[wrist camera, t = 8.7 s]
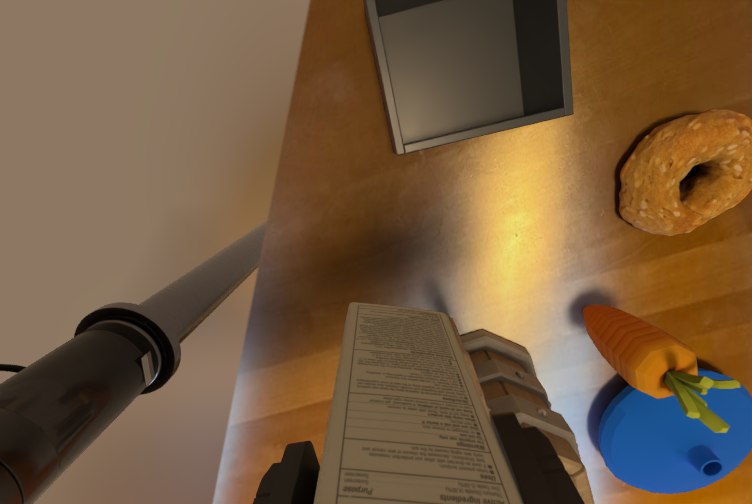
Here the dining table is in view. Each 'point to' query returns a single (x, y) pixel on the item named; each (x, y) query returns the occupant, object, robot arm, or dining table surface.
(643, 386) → the carrot
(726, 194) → the bagel
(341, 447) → the box
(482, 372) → the tankard
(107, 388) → the robot arm
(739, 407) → the vase
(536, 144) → the dining table surface
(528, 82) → the bin
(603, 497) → the dining table surface
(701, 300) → the dining table surface
